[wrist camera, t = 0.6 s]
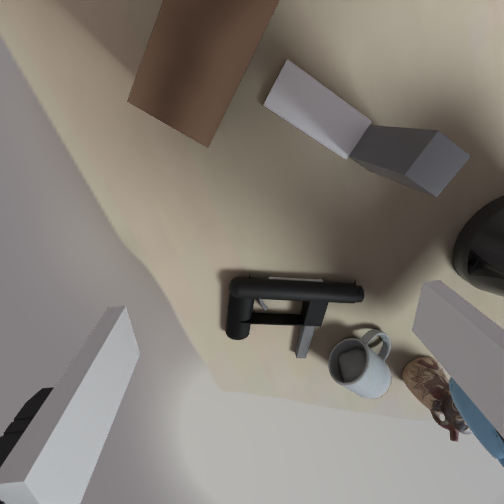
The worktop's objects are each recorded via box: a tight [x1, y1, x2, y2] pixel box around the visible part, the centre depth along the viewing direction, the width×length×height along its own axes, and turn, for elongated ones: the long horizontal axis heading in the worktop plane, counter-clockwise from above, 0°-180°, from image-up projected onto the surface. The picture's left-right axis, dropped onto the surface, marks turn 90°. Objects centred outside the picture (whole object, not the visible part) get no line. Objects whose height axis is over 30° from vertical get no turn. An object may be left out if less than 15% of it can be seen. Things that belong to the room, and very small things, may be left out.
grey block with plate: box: [263, 59, 471, 197], centre depth 28 cm, size 16×5×13 cm, turn 60°
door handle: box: [226, 275, 364, 358], centre depth 45 cm, size 3×20×16 cm
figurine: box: [402, 357, 472, 442], centre depth 49 cm, size 7×7×12 cm
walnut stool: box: [127, 0, 279, 148], centre depth 24 cm, size 6×16×13 cm, turn 150°
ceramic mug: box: [328, 329, 392, 399], centre depth 47 cm, size 11×8×8 cm
